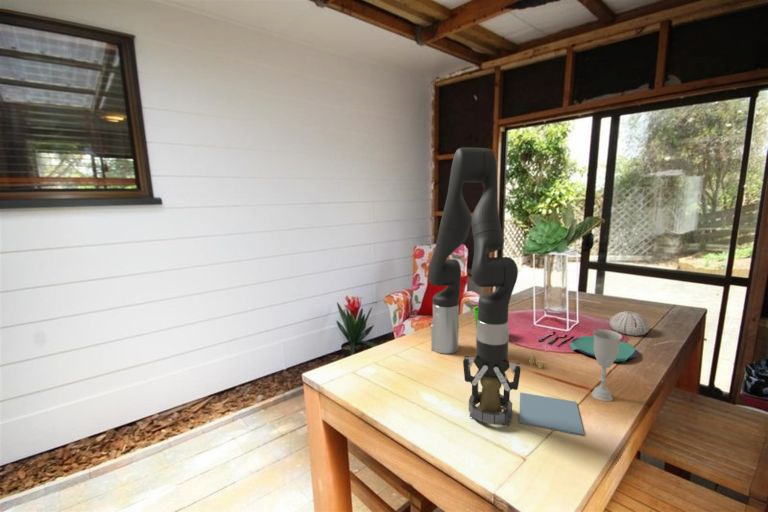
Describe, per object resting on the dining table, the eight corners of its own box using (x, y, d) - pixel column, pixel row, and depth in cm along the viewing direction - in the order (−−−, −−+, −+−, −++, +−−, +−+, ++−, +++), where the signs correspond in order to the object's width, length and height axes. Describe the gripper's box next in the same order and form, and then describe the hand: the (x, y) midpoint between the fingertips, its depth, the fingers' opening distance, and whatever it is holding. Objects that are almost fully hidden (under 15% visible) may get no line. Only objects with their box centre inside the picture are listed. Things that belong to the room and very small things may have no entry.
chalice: (616, 406, 93) (622, 341, 90) (587, 399, 97) (591, 336, 94) (616, 393, 99) (621, 332, 96) (588, 386, 103) (592, 327, 100)
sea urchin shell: (654, 332, 142) (656, 313, 140) (640, 340, 134) (642, 320, 133) (618, 323, 153) (619, 305, 151) (602, 330, 145) (604, 311, 144)
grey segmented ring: (466, 422, 88) (466, 409, 87) (472, 400, 98) (472, 388, 97) (510, 431, 84) (511, 418, 84) (512, 407, 94) (512, 395, 93)
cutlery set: (627, 370, 112) (627, 363, 112) (534, 344, 135) (534, 338, 134) (643, 351, 125) (644, 345, 125) (556, 330, 148) (556, 325, 147)
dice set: (541, 370, 114) (542, 364, 114) (526, 365, 118) (526, 360, 118) (547, 364, 118) (547, 359, 118) (531, 360, 122) (531, 355, 121)
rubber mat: (519, 423, 87) (519, 421, 87) (520, 393, 100) (520, 392, 100) (583, 435, 82) (584, 434, 82) (576, 403, 95) (576, 401, 95)
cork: (503, 423, 87) (505, 382, 86) (478, 421, 89) (479, 380, 87) (501, 409, 93) (502, 370, 91) (477, 407, 94) (478, 368, 93)
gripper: (460, 339, 87) (459, 402, 89) (523, 347, 81) (520, 413, 84) (465, 328, 94) (464, 387, 96) (523, 335, 88) (521, 397, 91)
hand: (490, 399), depth 90 cm, fingers open, 6 cm apart
